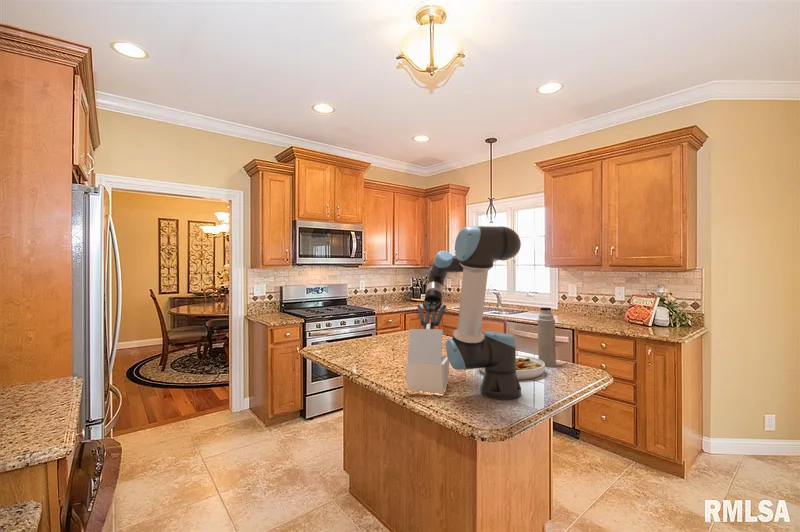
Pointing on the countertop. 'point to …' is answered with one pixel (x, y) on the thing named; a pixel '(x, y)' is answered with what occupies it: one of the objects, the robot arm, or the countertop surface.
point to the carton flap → (425, 346)
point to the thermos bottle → (546, 338)
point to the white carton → (428, 376)
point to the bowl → (527, 367)
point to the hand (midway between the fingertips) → (427, 338)
